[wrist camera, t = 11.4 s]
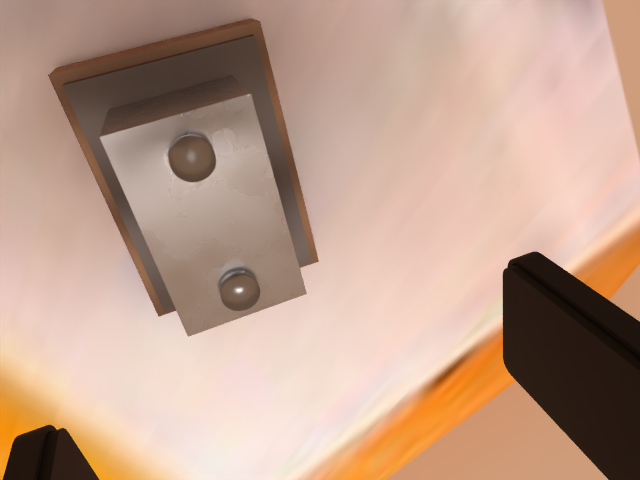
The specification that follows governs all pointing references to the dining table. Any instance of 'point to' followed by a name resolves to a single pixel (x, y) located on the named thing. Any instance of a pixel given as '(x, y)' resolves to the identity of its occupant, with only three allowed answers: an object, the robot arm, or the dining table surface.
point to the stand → (166, 76)
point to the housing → (205, 200)
